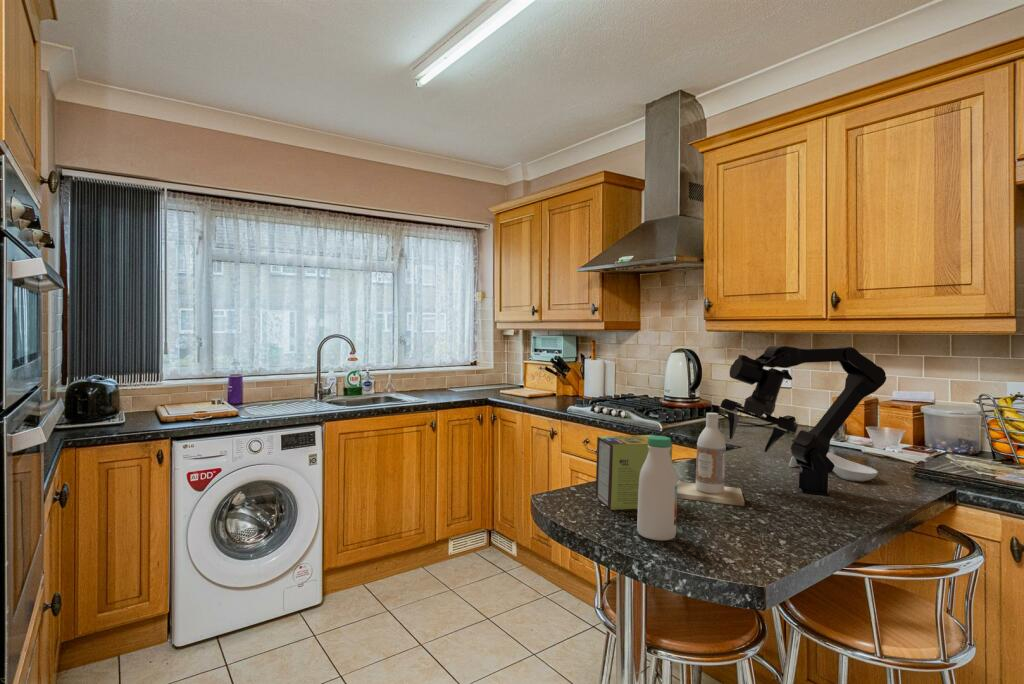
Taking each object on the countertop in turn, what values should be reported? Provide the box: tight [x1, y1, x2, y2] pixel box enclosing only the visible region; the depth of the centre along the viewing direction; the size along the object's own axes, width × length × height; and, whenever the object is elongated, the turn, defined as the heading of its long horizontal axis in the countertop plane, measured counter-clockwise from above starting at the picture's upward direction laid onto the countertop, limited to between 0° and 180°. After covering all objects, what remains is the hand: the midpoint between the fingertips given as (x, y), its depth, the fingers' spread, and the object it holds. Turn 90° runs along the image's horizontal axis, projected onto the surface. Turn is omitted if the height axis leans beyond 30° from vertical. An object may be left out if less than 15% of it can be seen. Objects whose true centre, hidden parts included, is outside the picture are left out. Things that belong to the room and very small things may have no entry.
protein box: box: [595, 434, 673, 511], centre depth 132 cm, size 10×15×16 cm
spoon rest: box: [788, 452, 879, 482], centre depth 166 cm, size 24×12×7 cm, turn 40°
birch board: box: [677, 480, 746, 507], centre depth 140 cm, size 16×12×1 cm
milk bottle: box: [636, 435, 678, 542], centre depth 111 cm, size 8×8×20 cm
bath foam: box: [695, 412, 727, 494], centre depth 140 cm, size 7×7×20 cm
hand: (747, 445), depth 146 cm, fingers open, 9 cm apart
